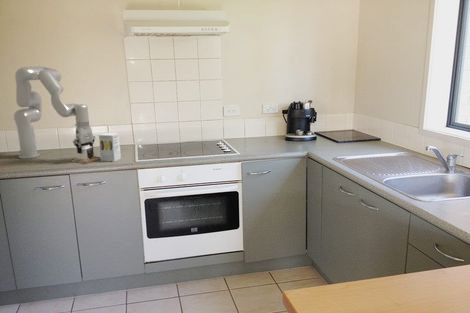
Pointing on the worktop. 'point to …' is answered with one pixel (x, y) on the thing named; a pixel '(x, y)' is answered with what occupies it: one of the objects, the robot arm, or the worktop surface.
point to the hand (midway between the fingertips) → (85, 151)
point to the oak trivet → (86, 160)
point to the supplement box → (109, 147)
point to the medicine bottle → (86, 152)
